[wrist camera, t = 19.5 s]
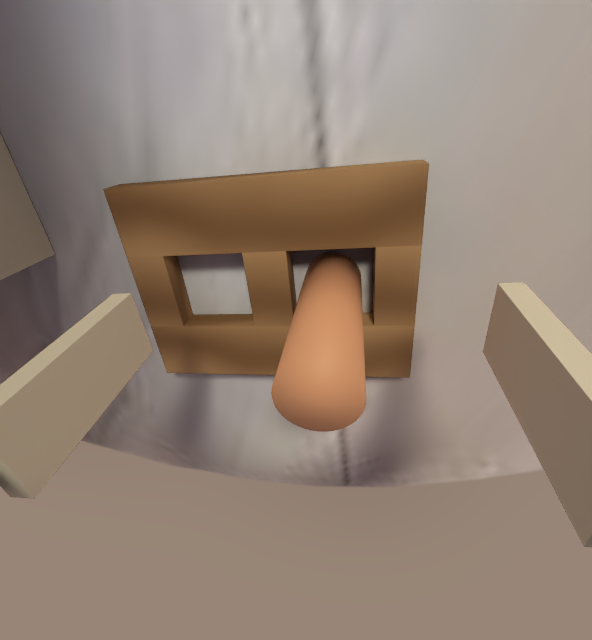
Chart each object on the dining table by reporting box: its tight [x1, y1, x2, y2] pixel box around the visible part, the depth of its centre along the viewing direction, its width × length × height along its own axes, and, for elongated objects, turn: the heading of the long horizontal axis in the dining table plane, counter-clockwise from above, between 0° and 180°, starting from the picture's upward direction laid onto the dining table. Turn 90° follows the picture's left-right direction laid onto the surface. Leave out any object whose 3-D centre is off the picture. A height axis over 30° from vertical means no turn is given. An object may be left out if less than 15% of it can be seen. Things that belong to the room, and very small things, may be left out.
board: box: [103, 160, 429, 378], centre depth 20 cm, size 12×16×2 cm
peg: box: [272, 253, 366, 431], centre depth 16 cm, size 3×3×10 cm
